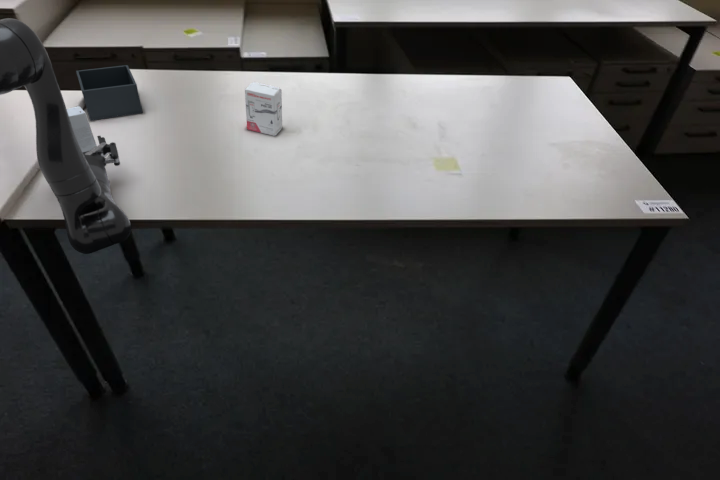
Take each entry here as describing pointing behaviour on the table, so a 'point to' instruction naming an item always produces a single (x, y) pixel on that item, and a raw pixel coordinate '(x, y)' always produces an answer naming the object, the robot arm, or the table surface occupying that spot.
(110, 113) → the bin
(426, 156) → the table surface
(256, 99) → the ink box
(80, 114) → the cosmetic box
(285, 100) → the table surface
